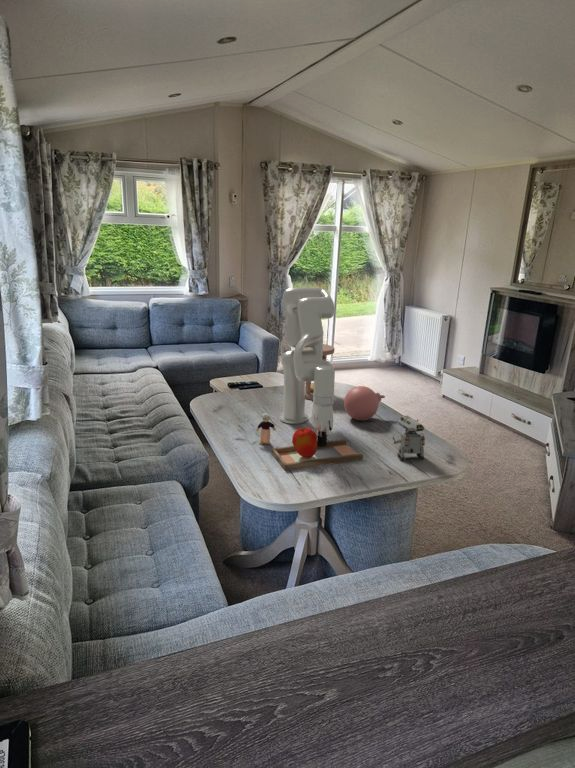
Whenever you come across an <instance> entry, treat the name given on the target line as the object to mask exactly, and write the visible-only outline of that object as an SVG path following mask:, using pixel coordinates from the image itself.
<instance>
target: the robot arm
mask: <svg viewBox="0 0 575 768" xmlns="http://www.w3.org/2000/svg"><path fill="white" fill-rule="evenodd" d="M282 302H283V303H282V304H283V308H284V311H285V315H286V324H285V325H286V328H285V330H286V331H285V332H286V333H285V342H286V345H287V346H288V347H289V348H293V349H294V350H293V349H291V350H287V351H285V352H283V354H282V356H281V365H282V371H283V407H282V408H283V409H282V411H283V412H282V413H281V414H280V415H279V420H280V421H281V422H283V423H285V424H290V425H291V424H294V425H297V424H304V423H306V422H307V421H308V419H309V416H308V415H307V414H305V413H306V412H305V410H306V409H305V408H306V399H305V387H306V382H305V381H311V382H313V383H314V392H313V400H312V409H311V421H310V422H311V425H312V426H313V427H314V428H315V429H316V435H317V445H318V446H319V447H323V446H327V441H328V437H329V436H330V435H331V433H330V432H332V431H333V427H334V408H333V405H334V402H335V377H336V371H335V368H334V367H333V365H332V363H331V362H330V361H328V360H326V361H322V354H323V344H324V329H323V322H322V320H323V319H331V318H333V317H334V315H335V313H336V312H335V311H336V309H335V308H336V307H335V303H334V300H333V298H332V296H331V295H330V294H329V292H327V290H326V289H325V288H323V287H316V286H315V287H305V286H304V287H302V286H301V287H290V288H286V289H285V290H284V291H283V293H282ZM307 347H311V350H303V348H307Z"/></svg>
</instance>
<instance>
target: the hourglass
mask: <svg viewBox="0 0 575 768" xmlns="http://www.w3.org/2000/svg"><path fill="white" fill-rule="evenodd" d="M335 349H336V348H335V347H334V346H333V345H330V344H324V343H323V354H322V361H327V356H329V355H333V354H334V353H335ZM303 350H311V347H307V348H303ZM313 392H314V382H312V381H305V400H310V401H313Z"/></svg>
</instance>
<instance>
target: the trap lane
mask: <svg viewBox="0 0 575 768" xmlns="http://www.w3.org/2000/svg"><path fill="white" fill-rule="evenodd" d="M347 442H348V441H347V439H346V438H344V439H337V440H330V441H328V440H327V446H323V447H319V446H318V445H317V449H316V453H315V454H314V455H313V456H312V457H310V458H304V457H302V456H300V455H299V454H298V452H297V451H296V450H295V448H294V446H293V445H288V446H281V447H273V448H271V455H272V456H273V457H274V459H275V460H276V461H277V462H278V464H279V465H280V466H281V468H282V469H283V471H285V472H286V471H293V470H298V469H299V470H300V469H306V468H313V467H319V466H326V465H334V464H341V463H346V462H348V463H349V462H354V461H361V460H363V459H364V454H363V452H360V453H357V452H356V451H355V450H354V449H352V448H351V447H350V446H349V445H347Z"/></svg>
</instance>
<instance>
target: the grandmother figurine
mask: <svg viewBox="0 0 575 768" xmlns="http://www.w3.org/2000/svg"><path fill="white" fill-rule="evenodd" d="M261 419H262V421H261V422H260V423H259V424H258V425H257V427H256V429H255V430H256V432H259V430H260V437H259V442H258V445H264V444H265V445H270V444H271V442H270V440H271V429H272V430H273V431H276V427H275V424H274V423H272V422H271V421H270V419H271V415H270V414H269V413H267V412H265V413H263V414H262V416H261ZM270 428H271V429H270Z"/></svg>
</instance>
